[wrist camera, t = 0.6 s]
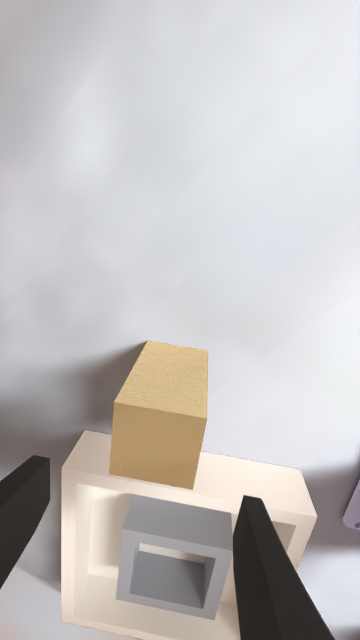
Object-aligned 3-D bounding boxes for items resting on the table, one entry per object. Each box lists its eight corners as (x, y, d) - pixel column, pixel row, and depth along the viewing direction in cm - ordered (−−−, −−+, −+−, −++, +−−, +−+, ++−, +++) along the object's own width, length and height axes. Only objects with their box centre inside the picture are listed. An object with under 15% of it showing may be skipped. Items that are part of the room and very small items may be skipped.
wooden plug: (208, 350, 19) (206, 418, 12) (198, 402, 20) (192, 490, 13) (147, 340, 19) (113, 401, 12) (142, 392, 20) (109, 474, 14)
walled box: (299, 469, 21) (317, 516, 17) (252, 607, 26) (259, 665, 22) (85, 429, 22) (61, 468, 18) (80, 571, 27) (61, 621, 23)
